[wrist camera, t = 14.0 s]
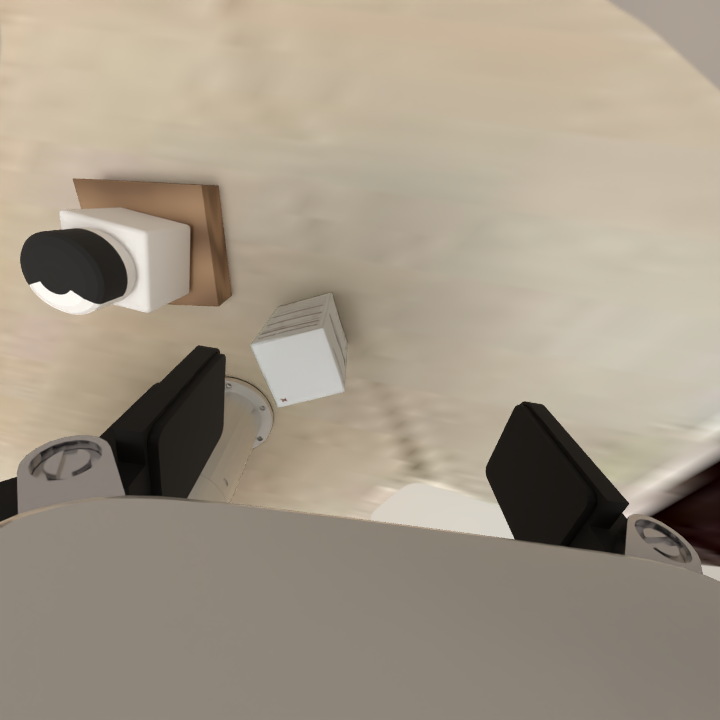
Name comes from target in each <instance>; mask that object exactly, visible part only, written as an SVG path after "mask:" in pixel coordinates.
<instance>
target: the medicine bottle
mask: <svg viewBox="0 0 720 720" xmlns="http://www.w3.org/2000/svg"><path fill="white" fill-rule="evenodd" d="M59 215H60V222H61V229H62V230H53V231H43V232H38V233H35V234H33V235H32V236H30V237H29V238H28V239H27V240H26V241H25V243H24V245H23V248H22V251H21V256H20V263H21V268H22V272H23V275H24V277H25V279H26V281H27V283H28V284H29V286H30V287H31V289H32V290H33V291H34V292H35V293H36V294H37V295H38V296H39V297H40V298H41V299H42V300H43V301H44V302H46V303H47V304H49V305H50V306H52V307H54V308H56V309H58V310H60V311H63V312H66V313H69V314H75V315H83V314H88V313H91V312H93V311H96V310H98V309H101V308H103V307H106V306H109V305H111V304H113V305H117V306H121V307H125V308H129V309H133V310H137V311H141V312H145V313H150V312H152V311H154V310H156V309H158V308H160V307H162V306H164V305H166V304H168V303H170V302H172V301H174V300H176V299H178V298H180V297H182V296H184V295H187V294H188V293H189V281H190V227H189V225H186V224H183V223H179V222H175V221H171V220H167V219H164V218H160V217H156V216H152V215H148V214H144V213H141V212H137V211H133V210H129V209H125V208H121V207H118V208H94V209H71V210H61V211H60V213H59Z"/></svg>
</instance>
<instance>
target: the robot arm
mask: <svg viewBox="0 0 720 720" xmlns="http://www.w3.org/2000/svg"><path fill="white" fill-rule="evenodd" d="M225 365H226V357H225V355H224V354H220V351H219V349H217V348H211V347H205V346H199V345H198V346H197V347H196V348H195V349H194V350H193V351H192V352H191V353H190V354H189V355H188V356H187V357H186V358H185V359H184V360H183V361H182V362H180V363H179V364H178V365H177V366H176V367H175V368H174V369H173V370H172V371H171V372H170V373H169V374H168V375H167V376H166V377H165V378H164V379H163V380H162V381H161V382H160V383H156V384H154V385H153V386H152V387H151V388H150V389H149V390H148V391H147V392H146V393H145V394H144V395H143V396H142V397H140V398H139V399H138V400H137V401H136V402H135V403H134V404H133V405H132V406H131V407H130V408H129V409H128V410H127V411H126V412H125V413H124V414H123V415H122V416H121V417H120V418H119V419H118V420H117V421H116V422H114V423H113V424H112V425H111V426H110V427H109V428H108V429H107V430H106V431H105V432H104V433H103V434H102V435H101V436H100V437H94V436H90V435H77V436H70V437H64V438H61V439H57V440H54V441H51V442H48V443H46V444H44V445H42V446H40V447H38V448H36V449H35V450H33V451H32V452H31V453H29V454H28V455H26V457H25V458H24V459H23V460H22V461H21V463H20V464H19V467H18V471H17V477H15V478H12V479H9V480H5V481H2V482H0V720H720V582H719V581H717V580H715V579H713V578H710V577H708V576H706V575H703V573H702V567H701V562H700V559H699V557H698V554H697V553H696V552H695V550H694V549H693V547H692V546H691V545H690V544H689V543H688V542H687V541H686V540H685V539H684V538H683V537H682V536H680V535H679V534H678V533H677V532H675V531H674V530H673V529H671V528H670V527H668V526H667V525H665V524H663V523H662V522H660V521H658V520H655V519H653V518H651V517H648V516H645V515H640V514H633V515H631V516H629V517H628V519H627V518H626V517H625V516H624V515H623V514H622V512H623V511H624V510H625V509H626V507H627V506H628V505H629V503H628V502H627V500H626V499H625V498H624V497H623V496H622V495H621V494H620V492H619V491H618V490H617V489H616V488H615V487H614V485H613V484H612V483H611V482H610V481H609V480H608V479H607V477H606V476H605V475H604V474H603V473H602V472H601V471H600V469H599V468H598V467H597V466H596V465H595V464H594V462H593V461H592V460H591V459H590V458H589V457H588V456H587V454H586V453H585V452H584V451H583V450H582V449H581V448H580V446H579V445H578V444H577V443H576V442H575V441H574V439H573V438H572V437H571V436H570V435H569V434H568V433H567V431H566V430H565V429H564V428H563V427H562V426H561V424H560V423H559V422H558V421H557V420H556V419H555V418H554V416H553V415H552V414H551V413H550V412H549V411H548V410H547V408H546V407H545V406H544V405H542V404H537V403H531V402H522V403H521V404H520V405H517V406H515V408H514V410H513V412H512V414H511V416H510V418H509V420H508V422H507V424H506V426H505V428H504V430H503V433H502V435H501V437H500V439H499V441H498V443H497V445H496V447H495V449H494V451H493V453H492V455H491V458H490V460H489V462H488V464H487V466H486V476H487V479H488V481H489V483H490V486H491V488H492V490H493V492H494V494H495V497H496V499H497V501H498V503H499V505H500V508H501V510H502V512H503V514H504V516H505V519H506V521H507V523H508V525H509V528H510V530H511V532H512V534H513V536H514V539H515V540H514V539H506V538H499V537H492V536H485V535H477V534H470V533H462V532H454V531H447V530H440V529H432V528H424V527H417V526H409V525H401V524H394V523H386V522H378V521H371V520H363V519H355V518H347V517H339V516H331V515H323V514H315V513H307V512H299V511H291V510H283V509H275V508H267V507H259V506H251V505H242V504H234V503H230V502H231V499H232V497H233V494H234V492H235V489H236V487H237V484H238V482H239V480H240V477H241V475H242V472H243V470H244V467H245V465H246V462H247V460H248V457H249V455H250V452H251V450H252V449H254V448H256V447H258V446H259V445H261V444H262V443H263V442H264V441H265V440H266V439H267V437H268V436H269V434H270V432H271V429H272V426H273V412H272V409H271V406H270V404H269V402H268V401H267V399H266V398H265V396H264V395H263V394H262V393H261V392H260V391H259V390H257V389H256V388H255V387H253V386H252V385H250V384H248V383H246V382H244V381H241V380H238V379H234V378H229V377H225Z"/></svg>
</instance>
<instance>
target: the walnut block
mask: <svg viewBox="0 0 720 720" xmlns="http://www.w3.org/2000/svg"><path fill="white" fill-rule="evenodd" d="M73 182H74V185H75V189H76V192H77V195H78V199H79V202H80V206H81V209H94V208H118V207H121V208H125V209H129V210H133V211H137V212H141V213H144V214H148V215H152V216H156V217H160V218H164V219H167V220H171V221H175V222H179V223H183V224H186V225H189V227H190V281H189V293H188V294H187V295H184V296H182V297H180V298H178V299H176V300H174V301H172V302H170V303H168V304H173V305H196V306H220V305H221V304H222V303H223V302H224V301H225V300H227V299H228V298H229V297H230V296H231V295H232V293H231V285H230V277H229V269H228V260H227V252H226V244H225V236H224V228H223V219H222V211H221V203H220V195H219V187H218V186H215V185H196V184H177V183H157V182H138V181H119V180H98V179H73Z"/></svg>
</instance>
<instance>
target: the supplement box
mask: <svg viewBox="0 0 720 720" xmlns="http://www.w3.org/2000/svg"><path fill="white" fill-rule="evenodd" d="M347 345H348V343H347V340H346V337H345V334H344V332H343V329H342V326H341V322H340V319H339V316H338V312H337V309H336V306H335V302H334V298H333V294H332V292H330V293H327V294H324V295H320V296H316V297H313V298H309V299H305V300H301V301H298V302H294V303H290V304H287V305H283V306H279V307H278V308H277V309H276V311H275V312H274V313H273V315H272V316H271V317H270V319H269V320H268V322H267V323H266V324H265V326H264V327H263V329H262V330H261V332H260V333H259V334H258V336H257V337H256V339H255V340H254V341H253V342H252V344H251V349H252V351H253V353H254V356H255V358H256V360H257V362H258V364H259V367H260V369H261V371H262V373H263V376H264V378H265V380H266V382H267V384H268V387H269V389H270V391H271V393H272V395H273V398H274V400H275V402H276V405H277V407H278V408H280V407H284V406H288V405H292V404H296V403H300V402H305V401H309V400H313V399H317V398H321V397H326V396H330V395H334V394H338V393H342V392H344V391H345V375H346V361H347Z"/></svg>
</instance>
